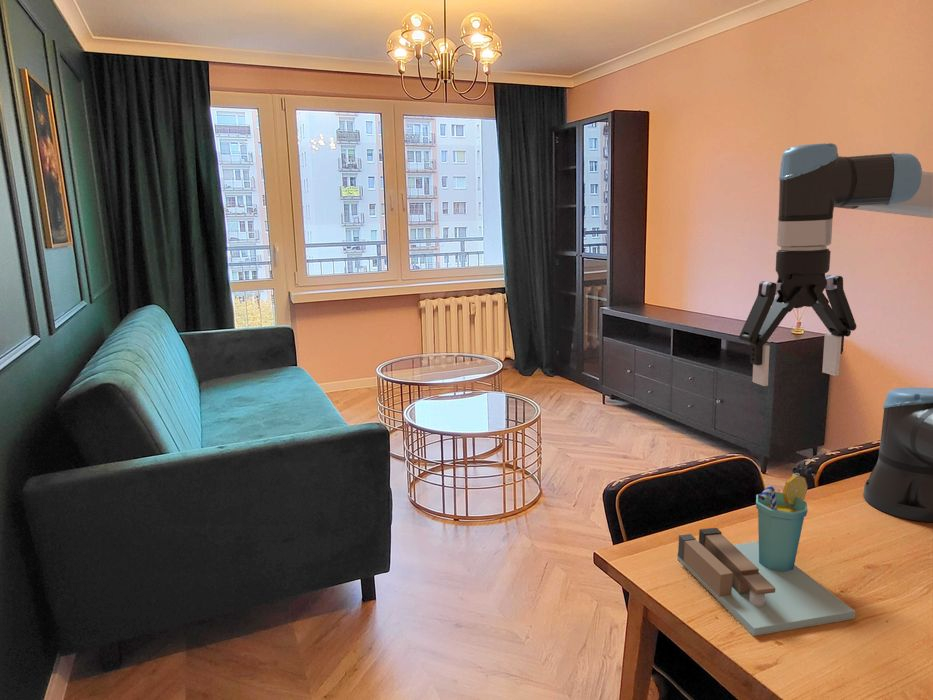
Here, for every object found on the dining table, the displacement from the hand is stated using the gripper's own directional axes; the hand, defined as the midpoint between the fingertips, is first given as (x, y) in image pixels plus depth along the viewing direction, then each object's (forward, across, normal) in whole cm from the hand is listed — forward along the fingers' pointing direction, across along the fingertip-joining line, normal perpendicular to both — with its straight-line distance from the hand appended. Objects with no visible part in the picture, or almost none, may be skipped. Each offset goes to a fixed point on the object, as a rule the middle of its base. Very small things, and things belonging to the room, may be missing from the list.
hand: (795, 379), depth 103 cm
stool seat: (+29, +13, +10) cm, 34 cm away
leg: (+28, +17, +8) cm, 33 cm away
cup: (+28, +8, +7) cm, 30 cm away
